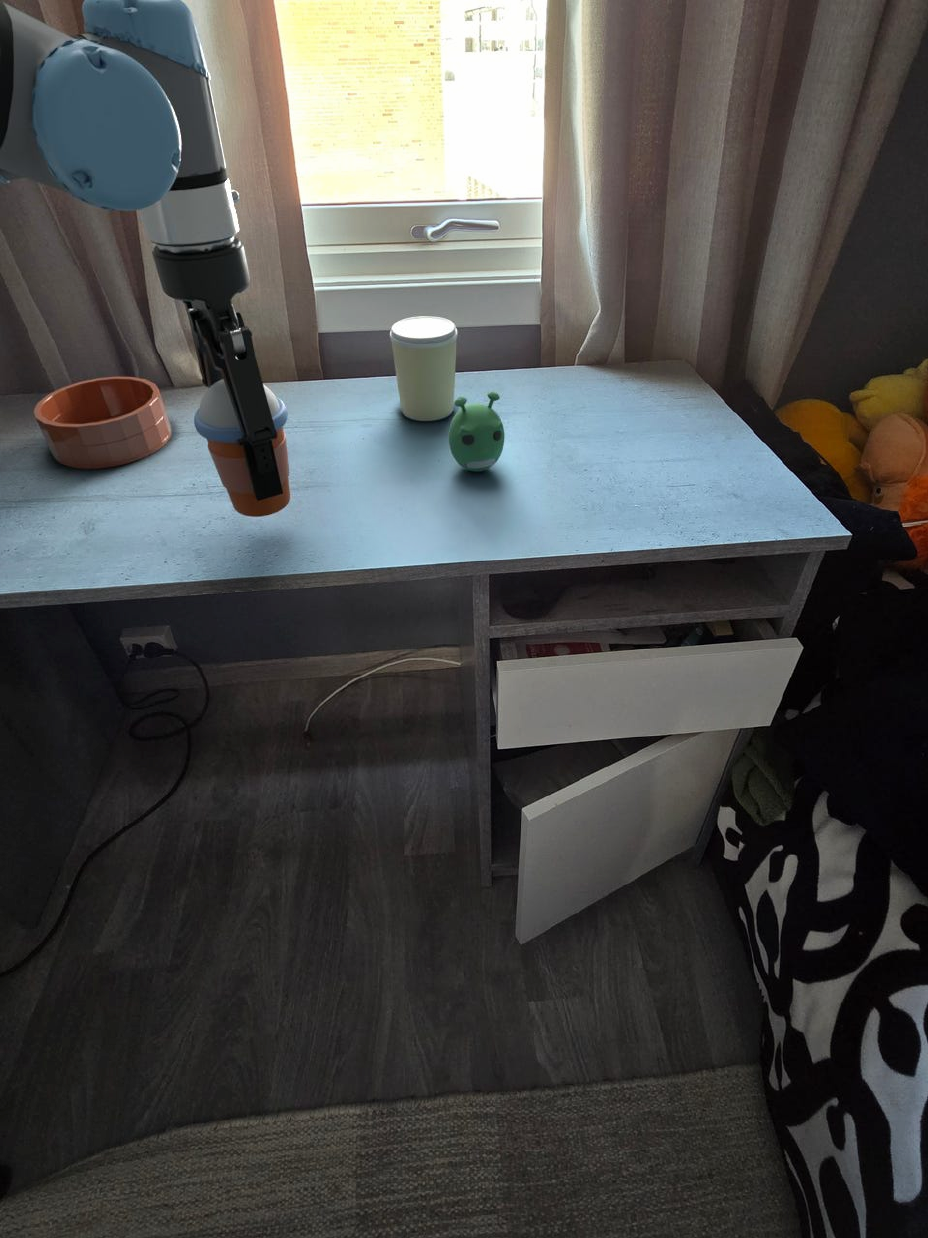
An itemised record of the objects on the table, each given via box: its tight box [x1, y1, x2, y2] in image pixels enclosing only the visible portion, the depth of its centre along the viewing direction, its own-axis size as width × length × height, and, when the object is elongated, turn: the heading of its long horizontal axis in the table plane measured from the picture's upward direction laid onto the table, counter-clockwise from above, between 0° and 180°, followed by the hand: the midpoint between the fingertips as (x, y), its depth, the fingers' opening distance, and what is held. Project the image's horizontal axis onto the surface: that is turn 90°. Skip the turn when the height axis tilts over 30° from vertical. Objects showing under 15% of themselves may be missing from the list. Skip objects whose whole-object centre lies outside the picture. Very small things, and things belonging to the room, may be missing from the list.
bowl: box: [33, 376, 172, 470], centre depth 94 cm, size 16×16×6 cm
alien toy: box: [448, 391, 505, 472], centre depth 86 cm, size 7×8×10 cm
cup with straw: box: [193, 357, 291, 518], centre depth 70 cm, size 9×9×18 cm
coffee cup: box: [389, 315, 459, 422], centre depth 98 cm, size 9×9×12 cm
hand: (254, 474), depth 73 cm, fingers closed on cup with straw, 9 cm apart
